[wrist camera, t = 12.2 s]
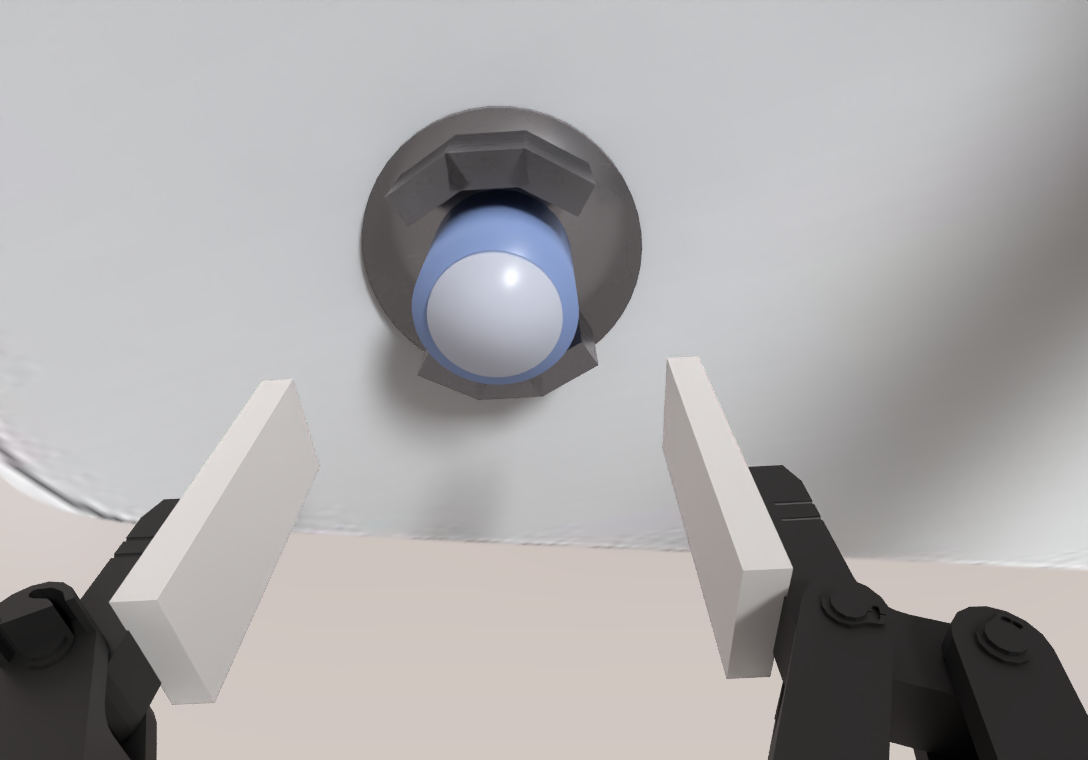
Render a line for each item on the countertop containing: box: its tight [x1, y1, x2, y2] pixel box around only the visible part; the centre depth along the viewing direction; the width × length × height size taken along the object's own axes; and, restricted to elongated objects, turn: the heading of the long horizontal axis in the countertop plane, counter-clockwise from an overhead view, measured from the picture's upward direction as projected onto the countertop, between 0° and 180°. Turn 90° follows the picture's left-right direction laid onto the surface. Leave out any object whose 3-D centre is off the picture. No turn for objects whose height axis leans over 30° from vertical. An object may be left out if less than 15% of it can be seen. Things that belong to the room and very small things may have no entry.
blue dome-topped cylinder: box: [412, 190, 579, 385], centre depth 23 cm, size 6×6×5 cm
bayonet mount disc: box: [362, 106, 642, 400], centre depth 24 cm, size 11×11×4 cm
